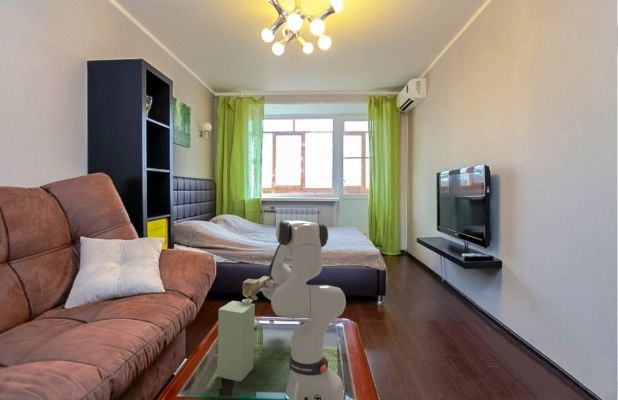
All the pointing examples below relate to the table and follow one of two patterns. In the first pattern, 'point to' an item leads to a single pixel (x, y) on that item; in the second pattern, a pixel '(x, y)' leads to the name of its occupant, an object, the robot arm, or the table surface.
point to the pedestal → (235, 340)
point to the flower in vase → (250, 302)
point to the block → (254, 285)
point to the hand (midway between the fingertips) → (261, 281)
